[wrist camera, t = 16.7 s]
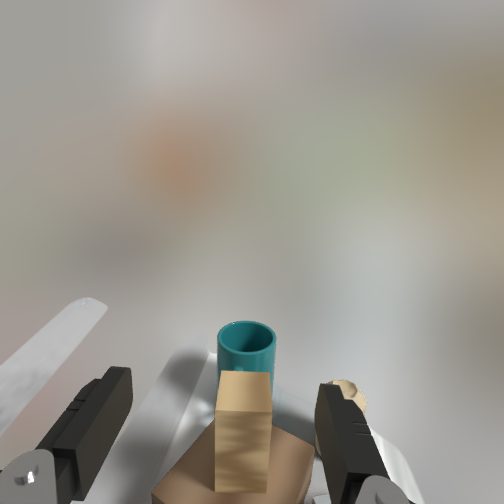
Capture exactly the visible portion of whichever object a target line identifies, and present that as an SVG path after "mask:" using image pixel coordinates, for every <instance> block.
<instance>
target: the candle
mask: <svg viewBox="0 0 504 504" xmlns="http://www.w3.org/2000/svg"><path fill="white" fill-rule="evenodd" d="M326 384H335V385H339V386H340V388H341V390H342V393H343V396H344V399H352V400H353V401H354V402H355V403H356V404H357V405H358V407H359V408H360V409H361V410H362V412H363V415H364V416H365V410H366V404H367V402H366V398H365V397H364V395H363V393H362V392H361V391H360V390H359V389H358V388H357V387H356V385H355V384H354V383H352V382H350V381H348V380H334V381H331V382H328V383H326ZM315 446H316V449H317V452H318V454H319V455H320V456H321V453H320V448H319V443H318V438H317V434H316V435H315ZM321 458H322V457H321Z"/></svg>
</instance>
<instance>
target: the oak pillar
mask: <svg viewBox="0 0 504 504" xmlns="http://www.w3.org/2000/svg"><path fill="white" fill-rule="evenodd" d="M272 414H273V410H272V397H271V383H270V372H246V371H221V377H220V383H219V389H218V395H217V402H216V408H215V492H226V493H254V494H266V491H267V478H268V465H269V453H270V440H271V427H272Z"/></svg>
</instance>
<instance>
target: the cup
mask: <svg viewBox="0 0 504 504" xmlns="http://www.w3.org/2000/svg"><path fill="white" fill-rule="evenodd" d="M275 352H276V335H275V333H274V331H273V330H272V329H270V328H269V327H268V326H266V325H264V324H262V323H258V322H254V321H238V322H233V323H230V324H228V325H226V326H224V327H223V328H222V329H221V330H220V331H219V333H218V336H217V395H218V389H219V383H220V377H221V371H246V372H270V383H271V397H272V393H273V379H274V364H275Z"/></svg>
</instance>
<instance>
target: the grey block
mask: <svg viewBox="0 0 504 504" xmlns="http://www.w3.org/2000/svg"><path fill="white" fill-rule="evenodd" d="M312 504H331V500H330V496H329V494H326V495H320V496H315V497H313V502H312Z"/></svg>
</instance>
